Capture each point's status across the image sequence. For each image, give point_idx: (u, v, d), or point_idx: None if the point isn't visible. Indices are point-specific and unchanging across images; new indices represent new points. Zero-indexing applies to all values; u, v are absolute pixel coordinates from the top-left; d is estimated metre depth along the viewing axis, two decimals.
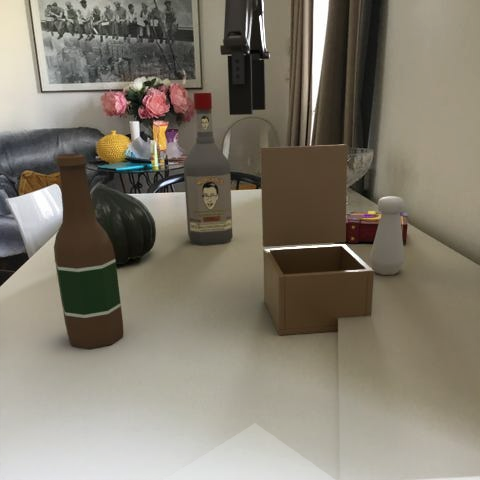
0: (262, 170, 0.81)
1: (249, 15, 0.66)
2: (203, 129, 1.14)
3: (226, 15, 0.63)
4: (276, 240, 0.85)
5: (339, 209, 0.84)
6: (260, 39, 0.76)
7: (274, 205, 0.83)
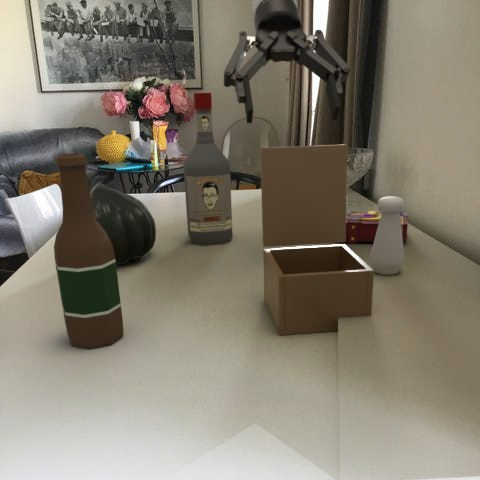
0: (262, 170, 0.81)
1: (251, 58, 0.89)
2: (203, 129, 1.14)
3: None
4: (276, 240, 0.85)
5: (339, 209, 0.84)
6: (320, 65, 0.89)
7: (274, 205, 0.83)
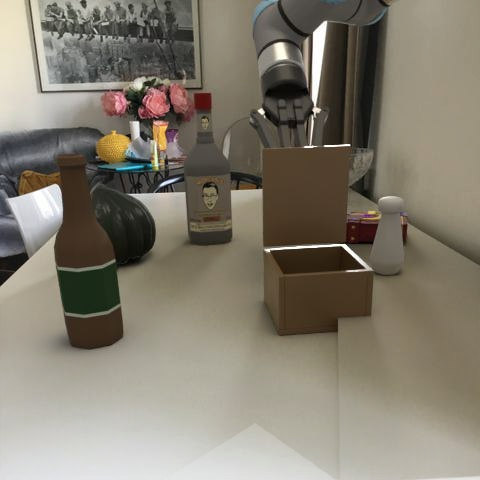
0: (263, 171, 0.80)
1: (282, 135, 0.87)
2: (203, 129, 1.14)
3: None
4: (277, 240, 0.84)
5: (340, 210, 0.84)
6: (299, 142, 0.87)
7: (275, 206, 0.82)
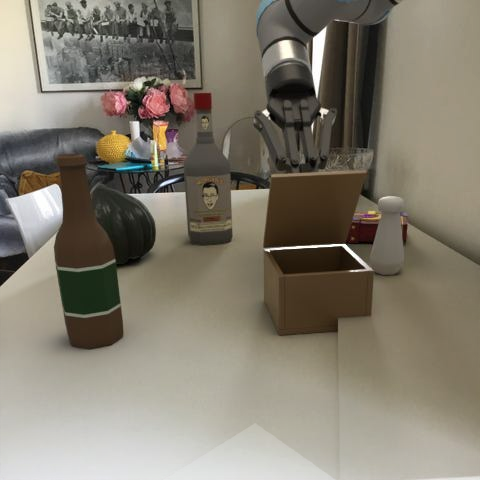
0: (270, 194, 0.75)
1: (287, 138, 0.83)
2: (203, 129, 1.14)
3: (270, 154, 0.84)
4: (277, 243, 0.84)
5: (345, 221, 0.82)
6: (306, 145, 0.83)
7: (279, 220, 0.80)
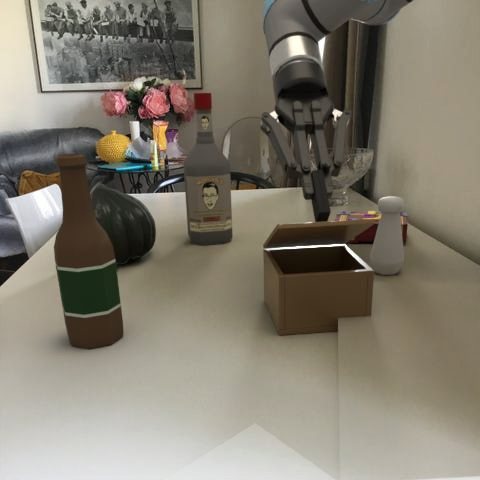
0: (275, 233, 0.74)
1: (298, 142, 0.76)
2: (203, 129, 1.14)
3: (279, 160, 0.77)
4: (277, 246, 0.84)
5: (347, 237, 0.81)
6: (318, 150, 0.76)
7: (281, 240, 0.79)
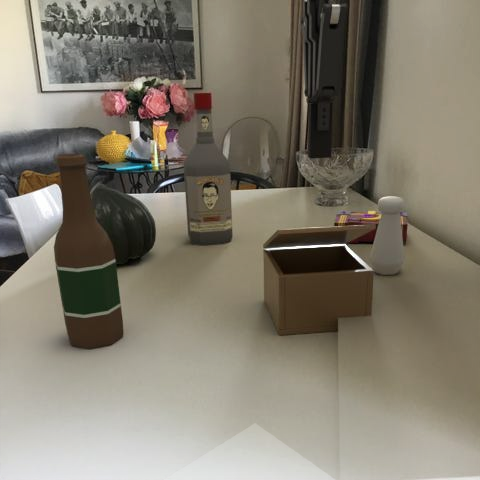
0: (275, 237, 0.74)
1: None
2: (203, 129, 1.14)
3: (321, 69, 0.65)
4: (277, 247, 0.84)
5: (347, 239, 0.81)
6: None
7: (282, 242, 0.79)
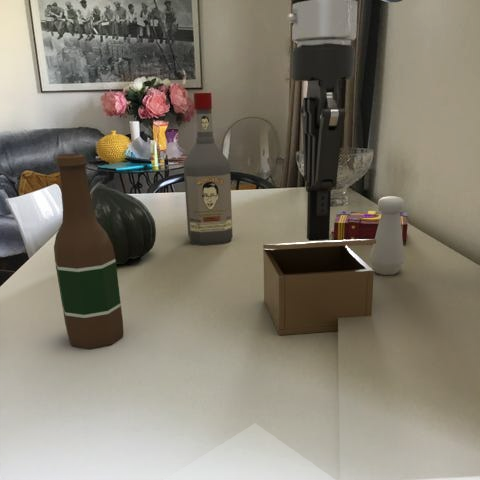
0: None
1: None
2: (203, 129, 1.14)
3: (320, 164, 0.68)
4: None
5: None
6: None
7: None
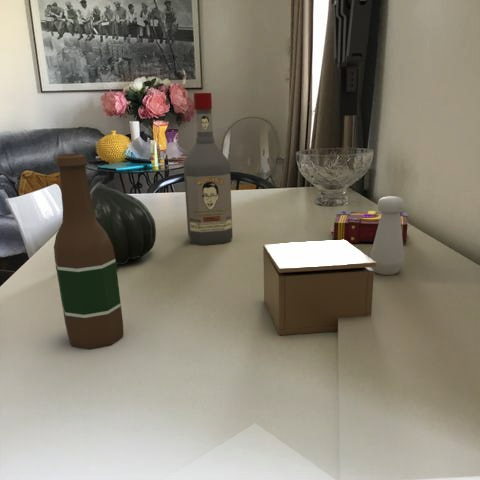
0: (276, 266, 0.75)
1: None
2: (203, 129, 1.14)
3: (351, 38, 0.78)
4: None
5: None
6: None
7: None
